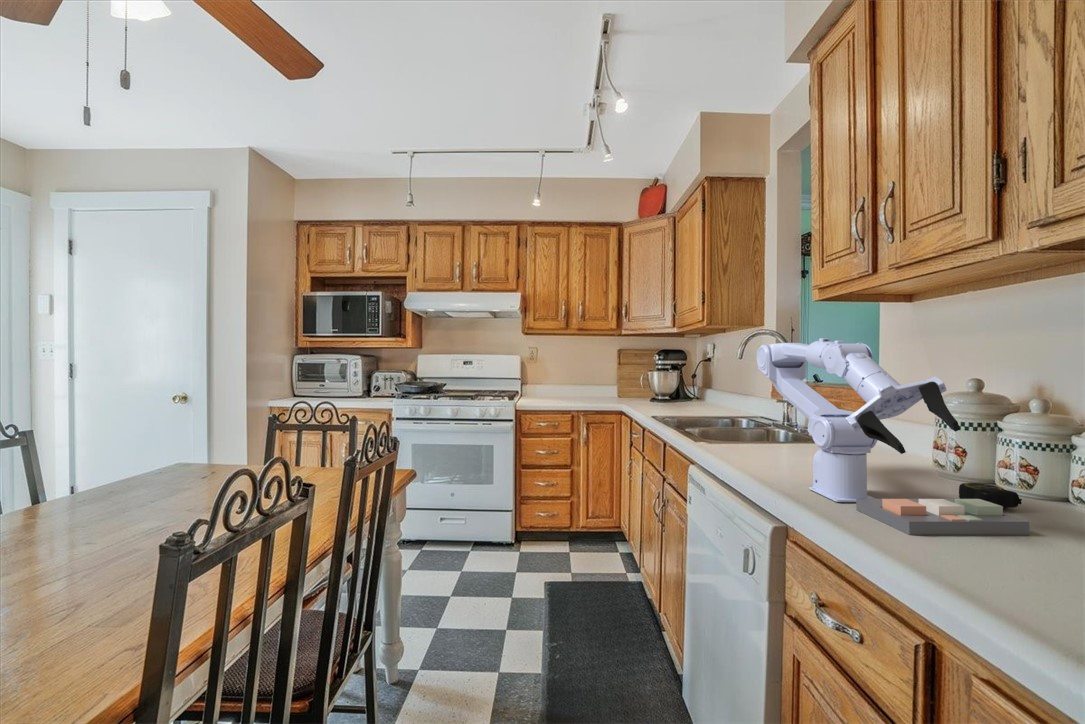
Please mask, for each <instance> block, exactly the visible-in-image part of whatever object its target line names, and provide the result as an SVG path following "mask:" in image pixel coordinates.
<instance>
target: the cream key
mask: <svg viewBox="0 0 1085 724" xmlns="http://www.w3.org/2000/svg"><path fill="white" fill-rule="evenodd" d="M918 499H919V504H921V505H924V506H926V511H928V512H930V513H933V514H935V515H938V516H941V515H954V516H957V515H965V509H964V506H962V505H959V504H956V503H953V502H950V501H947V500H944V499H945V498H918Z"/></svg>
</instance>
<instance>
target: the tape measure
mask: <svg viewBox="0 0 1085 724" xmlns="http://www.w3.org/2000/svg"><path fill="white" fill-rule="evenodd" d="M958 499H981V500H984V501H987V502H991V503H994V504H997V505H1000V506H1003V509H1008V508H1009V509H1011V508H1012V509H1014V508H1017V507H1019V505H1022V501H1023V499H1022V498H1020V496H1019V494H1018V493H1017V492H1016V491H1013V490H1009V489H1008V490H1007V489H1005V488H1003V487H1000V486H998V485H993V484H987V483H982V482H964V483H963V482H962V483H961V484H959V488H958Z"/></svg>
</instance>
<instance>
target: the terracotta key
mask: <svg viewBox="0 0 1085 724" xmlns="http://www.w3.org/2000/svg"><path fill="white" fill-rule="evenodd" d="M881 499H882V508H883V509H886V510H888V511H890V512H893V513H895V514H897V515H900V516H926V506H924V505H921V504H919V503H916V502H913V501H911V500H908V499H909V498H881Z"/></svg>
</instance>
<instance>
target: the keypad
mask: <svg viewBox="0 0 1085 724" xmlns="http://www.w3.org/2000/svg"><path fill="white" fill-rule="evenodd" d="M882 499H883V498H876V499H856V502H855V504H856V505H855V507H856V511H858V512H860V513H862V514H864V515H866V516H869V517H871V518H872V519H875V520H877V521H879V522H881V523H883V524H886V525H888V526H889V527H892V528H894V529H896V530H898V531H900V532H902V533H904V534H906V535H908V536H915V535H916V536H921V535H922V536H943V535H945V536H950V535H951V536H967V535H968V536H1014V535H1015V536H1029V535H1030V521H1028V520H1026V519H1023V518H1018V517H1015V516H1013V515H1010V514H1007V513H1004V512H1003V516H976V515H973V514H971V513H968V512H965V515H957V516H954V515H941V516H938V515H935V514H933V513H930V512H928V511H926V516H900V515H897V514H895V513H893V512H890V511H888V510H886V509H883V508H882ZM907 499H908V500H911V501H913V502H916V503H919V499H920V498H907ZM943 499H944V500H947V501H950V502H953V503H955V499H956V498H943Z"/></svg>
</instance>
